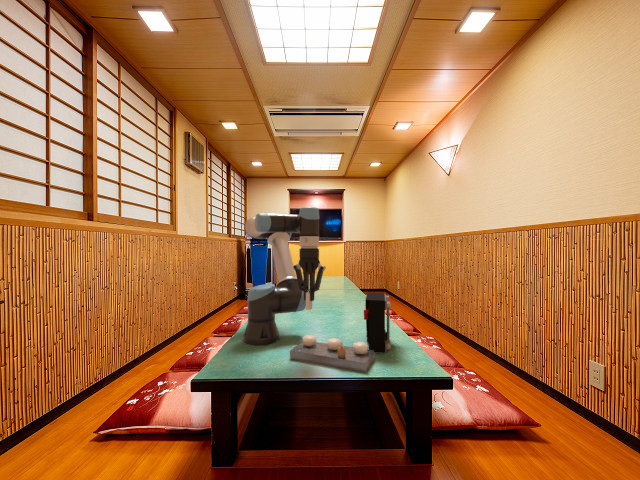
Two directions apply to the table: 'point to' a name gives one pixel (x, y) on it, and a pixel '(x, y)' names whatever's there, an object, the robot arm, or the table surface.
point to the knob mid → (333, 343)
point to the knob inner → (309, 340)
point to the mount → (332, 356)
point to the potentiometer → (341, 351)
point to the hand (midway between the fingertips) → (309, 309)
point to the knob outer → (360, 347)
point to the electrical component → (377, 321)
